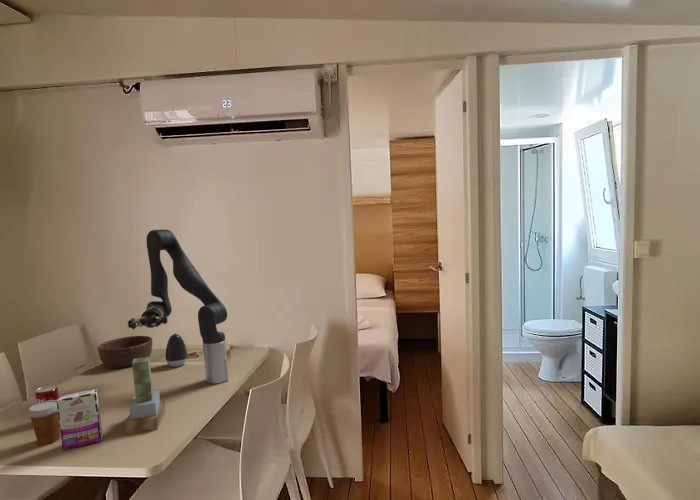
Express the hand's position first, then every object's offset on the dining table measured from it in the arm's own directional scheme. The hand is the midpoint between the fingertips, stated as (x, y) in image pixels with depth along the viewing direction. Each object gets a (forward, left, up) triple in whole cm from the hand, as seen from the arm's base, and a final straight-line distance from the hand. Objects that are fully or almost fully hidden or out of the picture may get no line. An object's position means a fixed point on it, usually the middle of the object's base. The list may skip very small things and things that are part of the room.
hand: (144, 325), depth 185 cm
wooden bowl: (+22, -60, -30) cm, 71 cm away
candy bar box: (+16, +30, -30) cm, 46 cm away
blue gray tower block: (-2, +20, -26) cm, 33 cm away
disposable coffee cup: (+28, +24, -30) cm, 48 cm away
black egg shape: (-4, -44, -30) cm, 53 cm away
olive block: (-2, +21, -22) cm, 30 cm away
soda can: (+34, +6, -30) cm, 46 cm away
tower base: (-2, +20, -31) cm, 37 cm away
